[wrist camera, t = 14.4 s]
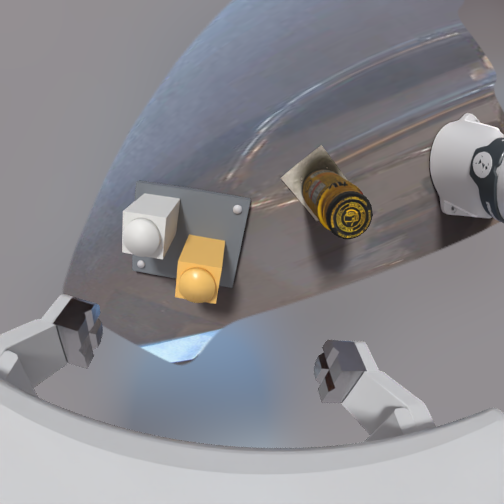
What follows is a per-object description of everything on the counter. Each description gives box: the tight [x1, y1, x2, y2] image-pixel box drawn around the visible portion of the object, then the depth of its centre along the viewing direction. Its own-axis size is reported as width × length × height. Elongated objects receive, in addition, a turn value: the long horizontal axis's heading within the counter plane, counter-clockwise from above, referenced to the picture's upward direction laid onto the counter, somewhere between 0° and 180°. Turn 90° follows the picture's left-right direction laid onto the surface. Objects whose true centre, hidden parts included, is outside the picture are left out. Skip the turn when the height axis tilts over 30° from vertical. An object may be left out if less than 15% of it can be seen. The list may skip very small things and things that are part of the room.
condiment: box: [281, 145, 373, 239], centre depth 33 cm, size 7×8×12 cm
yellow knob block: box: [175, 235, 225, 304], centre depth 37 cm, size 5×5×9 cm
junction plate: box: [122, 181, 251, 288], centre depth 36 cm, size 16×14×10 cm
